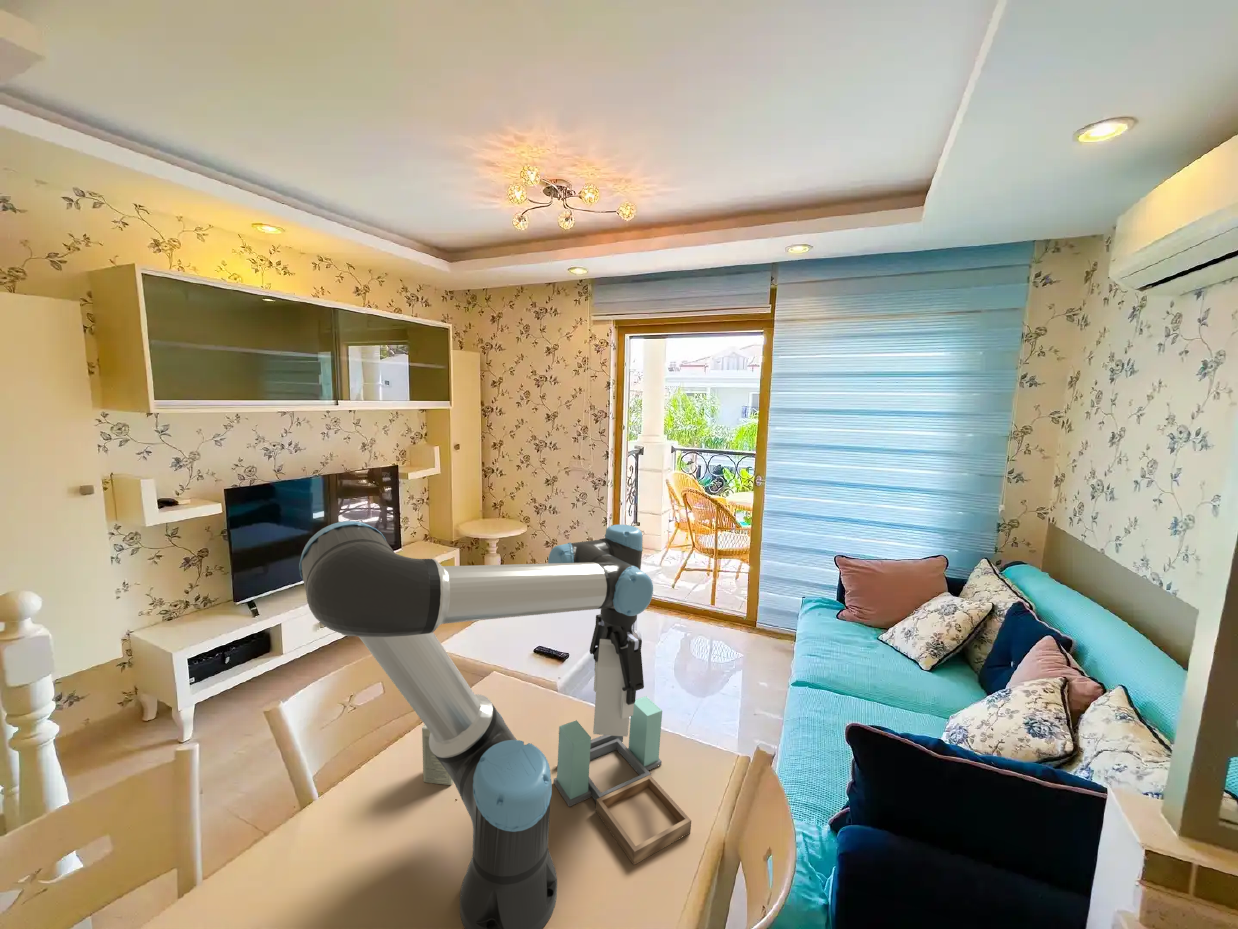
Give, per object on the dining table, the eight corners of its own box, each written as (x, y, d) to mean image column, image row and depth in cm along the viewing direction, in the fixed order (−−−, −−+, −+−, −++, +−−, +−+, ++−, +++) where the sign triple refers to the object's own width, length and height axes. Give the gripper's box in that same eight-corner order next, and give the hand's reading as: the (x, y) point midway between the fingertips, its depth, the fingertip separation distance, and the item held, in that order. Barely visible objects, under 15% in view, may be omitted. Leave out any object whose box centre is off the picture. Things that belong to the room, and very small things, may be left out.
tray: (633, 865, 87) (634, 852, 86) (595, 811, 97) (596, 799, 97) (690, 833, 94) (691, 820, 93) (649, 786, 105) (649, 774, 104)
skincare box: (460, 770, 106) (461, 717, 104) (451, 786, 101) (452, 731, 100) (431, 767, 106) (431, 714, 105) (421, 782, 102) (421, 727, 100)
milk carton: (627, 737, 102) (634, 650, 100) (593, 735, 102) (598, 647, 100) (627, 715, 109) (634, 633, 107) (595, 713, 109) (600, 631, 107)
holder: (575, 817, 96) (579, 755, 94) (544, 770, 107) (547, 714, 106) (669, 773, 108) (673, 718, 107) (632, 735, 120) (636, 685, 118)
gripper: (668, 619, 95) (659, 727, 98) (606, 580, 113) (600, 672, 116) (636, 627, 91) (627, 740, 94) (577, 584, 109) (571, 680, 112)
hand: (612, 702), depth 105 cm, fingers closed on milk carton, 10 cm apart
